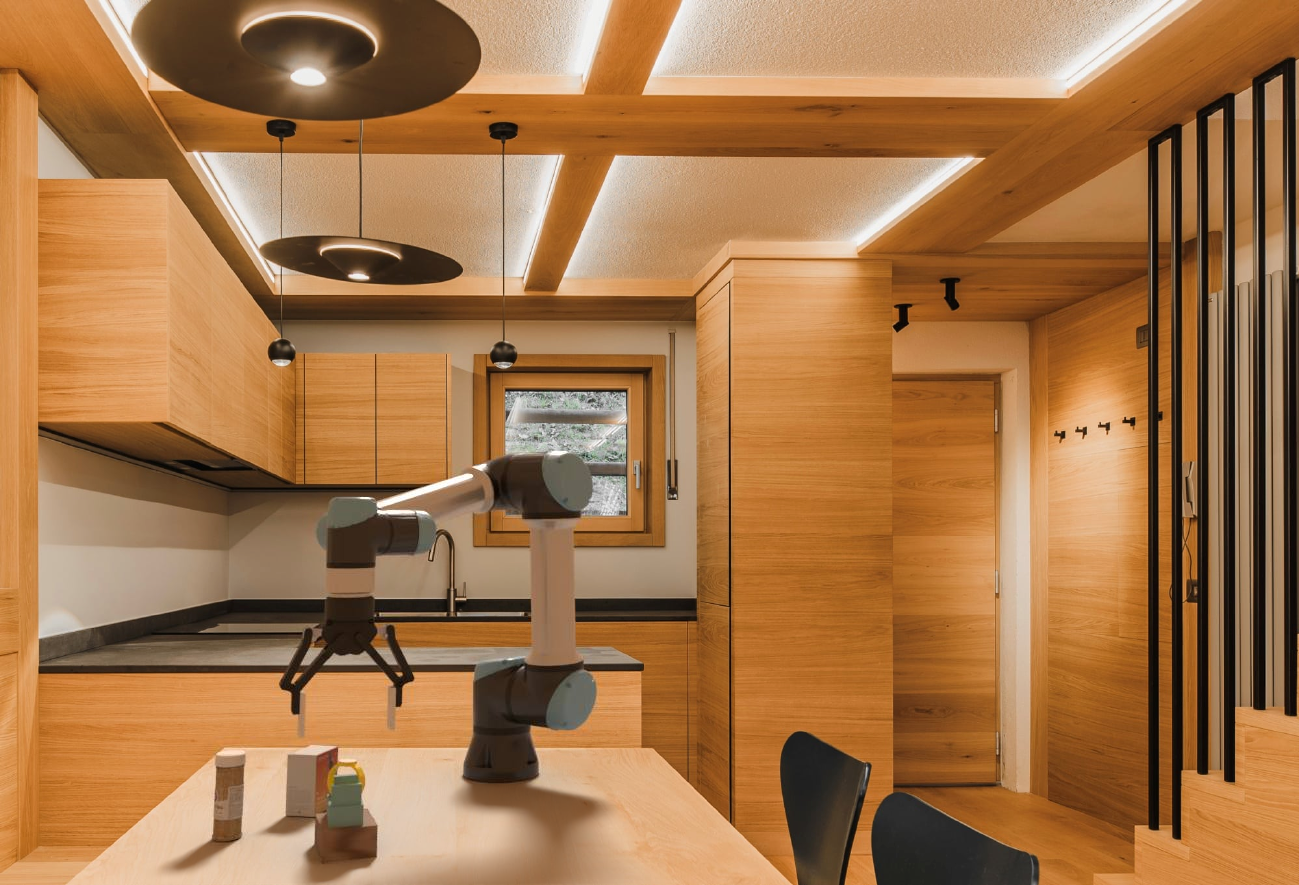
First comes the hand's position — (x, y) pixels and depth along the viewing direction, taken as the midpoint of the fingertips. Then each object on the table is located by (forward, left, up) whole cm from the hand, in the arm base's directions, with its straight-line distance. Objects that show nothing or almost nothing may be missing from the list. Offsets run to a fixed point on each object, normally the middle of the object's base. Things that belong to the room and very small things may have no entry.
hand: (346, 732), depth 159 cm
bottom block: (0, +1, -18) cm, 18 cm away
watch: (0, +1, -10) cm, 10 cm away
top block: (0, +1, -13) cm, 13 cm away
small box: (+2, -24, -18) cm, 30 cm away
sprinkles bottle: (+16, -13, -18) cm, 27 cm away
